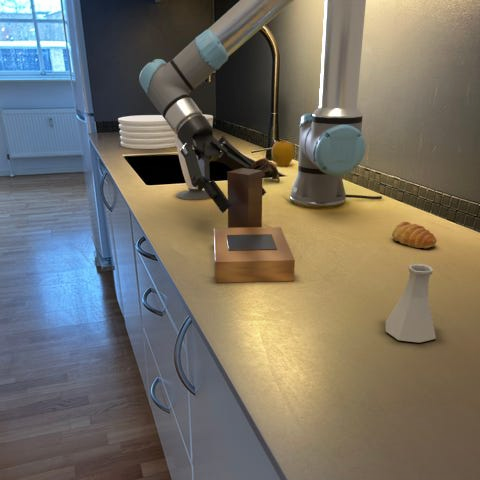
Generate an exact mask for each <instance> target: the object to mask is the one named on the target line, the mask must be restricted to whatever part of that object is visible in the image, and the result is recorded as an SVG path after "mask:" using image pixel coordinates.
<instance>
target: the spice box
mask: <svg viewBox="0 0 480 480" xmlns="http://www.w3.org/2000/svg"><path fill="white" fill-rule="evenodd" d="M226 174H227V175H226V176H227V178H226V179H227V199H228V201H229V202H230V203H231V206H230V207H229V208H228V209H227V228H246V227H263V222H262V221H263V196H262V187H263V182H264V181H263V180H264V179H263V178H264V177H263V171H262V170H256V169H255V168H254V169H246V168H240V169H236V170H233V169H232V170H229V171H227V173H226Z"/></svg>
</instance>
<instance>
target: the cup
mask: <svg viewBox="0 0 480 480" xmlns="http://www.w3.org/2000/svg"><path fill="white" fill-rule="evenodd" d="M202 115H203V116H205V118H206V119H207V121H208V122H209V123H210V125H211V126H212V127H213V125H214V124H213V123H214V116H213V115H211V114H203V113H202ZM174 135H175V141H176V151H177V156H178V159H179V164H180V168H181V171H182V176H183V177H184V178H183V179H184V182H185V184H186V187H187V190H183V191H179V192H178V193H176V195H175V196H176V197H177V198H178V199H181V200H186V201H201V200H208V199H211V198H210V197H209V195H208V194H207V193H206V191H205V190H204V189H202V190H199V189H198V188H197V187H198V186H197V187H194V186H193V185H192V183H191V179H190V176H189V172H188V169H187V165H186V162H185V158H184V157H183V155H182V153H181V152H180V151H181V149H182V148H183V144H182V143H181V141H180V140H179V139H178V137H177V134H175V133H174ZM196 178H197V177H196Z"/></svg>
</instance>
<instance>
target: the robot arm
mask: <svg viewBox="0 0 480 480" xmlns="http://www.w3.org/2000/svg"><path fill="white" fill-rule="evenodd" d="M294 1H295V0H239V1H238V2H236V3H235V4H234V5H233V6H232V7H231V8H230V9H228V10H227V11H226V13H224V14H223V15H222V16H221V17H220V18H219V19H218V20H216V21H215V22H214V23H213V24H212V25H210V27H208V28H207V29H205V30H204V31H203V32H202V33H200V34H199V35H197V36H196V37H195V38H194V39H193V40H192V41H191V42H190V43H189V44H188V45H187V46H185V47H184V48H183V49H182V50H181V51H180V52H179V53H178V54H176V56H175V57H174V58H173V59H171V60H170V61H168V62H166V61H165V60H164V59H161V58H156V59H153V60H152V61H151V62H150V61H149V62H148V63H147V64H145V65H144V67H143V68H142V69H141V71H140V73H139V84H140V85H141V88H142V90H144V92H145V94H146V97H148V98H149V100H150V101H151V103H152V104H153V105H154V107H155V108H156V110H157V111H158V112H159V114H160V115H162V116H163V117H164V119H165V120H166V121H167V123H168V124H169V126H170V127H171V128H172V130H173V131H174V133H175V134H177V137H178V139H179V140H180V141H181V143H182V144H183V148H182V149H181V151H180V152H181V153H182V155H183V157H184V158H185V162H186V165H187V169H188V172H189V176H190V179H191V183H192V185H193V186H194V187H197V186H198V187H197V188H198V189H199V190H205V191H206V193H207V194H208V195H209V197H210V198H209V199H211V200H212V201H213V202H214V204H215V206H216V207H217V208H218V209H219V211H220V212H221V214H223V213H226V211H228V208H229V207H230V206H231V203H230V202H229V201H228V197H227V196H226V195H225V194H224V192H223V191H222V189H221V188H220V186H218V183H217V182H216V180H214V179H211V175H210V174H211V173H210V163H211V162H217V163H222V164H223V165H225V166H226V167H228V168H230V169H231V170H232V171H233V170H236V169H240V168H246V169H252V168H253V166H254V164H253V163H254V162H253V161H252V160H250V159H249V158H247V156H245V155H244V154H243V153H242V152H241V151H239V150H238V149H237V148H236V147H235V146H234V145H233V144H232V143H230V142H229V140H228V139H227V138H226V137H225V136H224V135H222V136H221V137H219V139H217V138H216V137H214V135H213V132H214V130H213V129H214V128H213V125H212V126H211V125H210V123H209V122H208V121H207V119H206V118H205V116H203V115H202V114H203V111H202V110H201V109H200V108H199V107H198V105H197V104H196V102H195V101H194V100H193V98H192V97H191V96H190V93H191V92H193V91H194V90H195V89H196V88H197V87H198V86H200V85H201V84H202V83H203V82H205V81H206V80H207V79H208V78H210V76H212V75H213V74H214V73H215V72H216V71H218V70H220V68H221V67H222V66H223V65H224V64H225V63H226V62H228V59H229V57H230V56H231V55H232V54H234V52H236V51H237V50H238V49H239V48H240V47H241V46H243V45H244V44H246V42H247V41H249V40H250V39H251V38H252V37H253V36H254V35H256V34H257V33H258V32H259V31H260V30H261V29H262V28H263V27H264V26H266V25H267V24H268V23H270V22H271V21H272V20H273V19H274V18H275V17H276V16H278V15H279V14H280V13H281V12H282V11H283V10H285V9H286V8H287V7H288V6H289V5H290V4H292V2H294ZM366 4H367V0H324V15H323V31H322V32H323V33H322V48H321V49H322V51H321V68H320V69H321V70H320V85H319V87H320V88H319V102H318V107H317V108H316V109H315V110H314V111H313V112H309V113H304V114H302V116H301V117H300V124H299V141H298V142H299V143H298V165H297V174H296V177H295V180H294V183H293V186H292V187H291V192H290V195H289V202H290V203H291V204H293V205H295V206H298V207H302V208H309V209H334V208H339V207H342V206H345V204H346V201H347V198H350V199H363V200H382V199H383V196H382V195H378V196H376V195H375V196H373V195H372V196H371V195H360V194H359V195H358V194H346V190H345V185H344V180H343V177H342V176H345V175H349V174H350V173H352V172H354V171H355V170H356V169H357V168H358V167H359V166H360V164H361V163H362V161H363V160H364V157H365V154H366V139H365V136H364V135H363V133H362V126H363V117H364V113H362V111H361V110H360V109H359V107H358V96H359V84H360V75H361V74H360V72H361V63H362V51H363V38H364V30H365V29H364V27H365V18H366V17H365V15H366ZM196 177H197V178H196ZM266 193H267V191H266V189H264V187H263V186H262V197H263V196H265V195H266Z"/></svg>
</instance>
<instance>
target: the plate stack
mask: <svg viewBox="0 0 480 480" xmlns="http://www.w3.org/2000/svg"><path fill="white" fill-rule="evenodd" d="M117 122H118V123H119V124H118V128H119V129H120V130H119V135H120V136H119V140H120V146H121V147H123V148H127V149H135V150H157V149H158V150H159V149H168V148H174V147H175V148H177V146H176V141H175V135H174V131H173V130H172V128H171V127H170V126H169V124H168V123H167V121H166V120H165V119H164V117H163V116H162V115H161V114H143V115H141V114H140V115H127V116H121V117H118V118H117Z"/></svg>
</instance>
